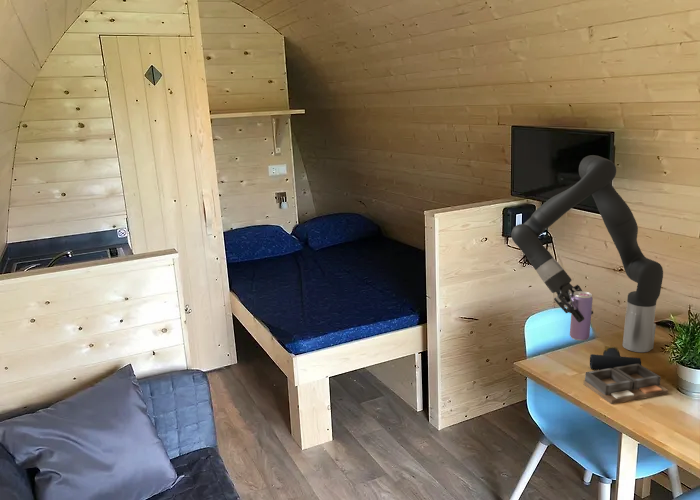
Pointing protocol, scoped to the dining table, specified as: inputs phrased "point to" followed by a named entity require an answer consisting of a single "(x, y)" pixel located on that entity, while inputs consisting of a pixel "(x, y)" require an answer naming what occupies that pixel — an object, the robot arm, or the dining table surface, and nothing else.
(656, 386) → the socket board
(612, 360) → the pipe connector
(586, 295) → the beverage can
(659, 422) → the dining table surface
